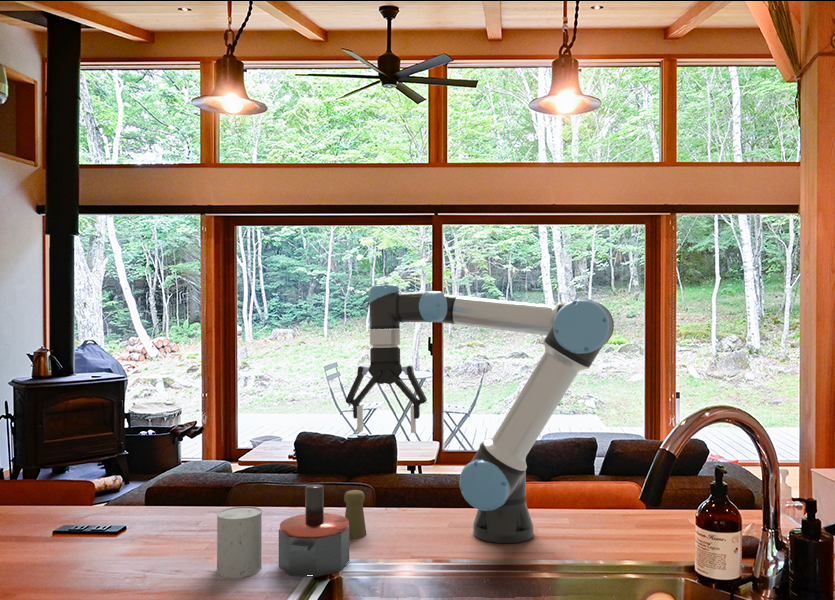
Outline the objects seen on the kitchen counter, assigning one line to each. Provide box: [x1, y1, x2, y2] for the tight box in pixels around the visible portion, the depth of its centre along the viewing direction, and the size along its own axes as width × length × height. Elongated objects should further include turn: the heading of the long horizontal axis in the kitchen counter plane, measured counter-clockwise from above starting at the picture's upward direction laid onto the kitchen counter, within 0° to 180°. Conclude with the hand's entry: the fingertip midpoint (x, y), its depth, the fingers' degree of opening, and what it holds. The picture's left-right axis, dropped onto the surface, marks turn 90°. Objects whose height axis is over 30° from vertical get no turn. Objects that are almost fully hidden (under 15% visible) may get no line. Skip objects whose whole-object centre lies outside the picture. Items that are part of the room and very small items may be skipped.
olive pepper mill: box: [343, 489, 367, 540], centre depth 166 cm, size 6×6×11 cm
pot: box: [278, 527, 350, 578], centre depth 146 cm, size 14×19×8 cm
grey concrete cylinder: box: [216, 505, 263, 579], centre depth 143 cm, size 10×10×12 cm
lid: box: [279, 484, 349, 539], centre depth 146 cm, size 15×15×11 cm
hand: (386, 431), depth 163 cm, fingers open, 13 cm apart
